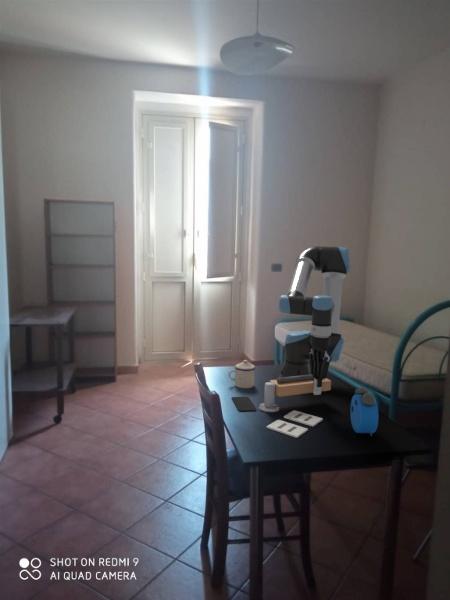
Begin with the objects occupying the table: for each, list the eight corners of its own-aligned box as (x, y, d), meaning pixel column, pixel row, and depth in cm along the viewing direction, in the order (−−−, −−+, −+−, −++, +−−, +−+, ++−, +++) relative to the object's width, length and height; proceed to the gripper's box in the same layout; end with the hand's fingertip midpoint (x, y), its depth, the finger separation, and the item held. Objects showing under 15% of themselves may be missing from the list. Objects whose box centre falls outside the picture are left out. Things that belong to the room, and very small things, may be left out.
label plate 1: (278, 421, 163) (278, 419, 163) (307, 430, 156) (307, 428, 156) (266, 427, 157) (266, 426, 157) (296, 438, 150) (296, 436, 150)
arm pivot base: (265, 403, 181) (265, 401, 180) (282, 408, 176) (282, 406, 176) (254, 408, 174) (254, 406, 174) (272, 414, 169) (272, 412, 169)
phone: (248, 396, 187) (257, 410, 172) (248, 398, 187) (257, 412, 172) (231, 396, 185) (238, 410, 171) (231, 398, 185) (238, 412, 171)
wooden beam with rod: (269, 410, 170) (270, 382, 169) (259, 402, 178) (260, 376, 176) (329, 401, 182) (331, 375, 180) (318, 395, 189) (319, 370, 187)
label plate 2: (294, 411, 173) (294, 409, 173) (322, 420, 166) (322, 418, 165) (283, 417, 166) (283, 415, 166) (312, 426, 159) (313, 424, 159)
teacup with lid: (252, 382, 206) (253, 357, 205) (256, 388, 197) (257, 363, 196) (226, 382, 205) (227, 357, 203) (229, 389, 196) (230, 363, 194)
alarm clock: (377, 440, 150) (380, 397, 148) (358, 439, 150) (362, 397, 148) (365, 424, 163) (368, 384, 161) (348, 423, 163) (351, 384, 161)
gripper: (303, 332, 177) (300, 389, 180) (322, 339, 165) (318, 400, 169) (319, 331, 180) (315, 387, 183) (338, 338, 168) (334, 398, 171)
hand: (317, 394), depth 176 cm, fingers closed
